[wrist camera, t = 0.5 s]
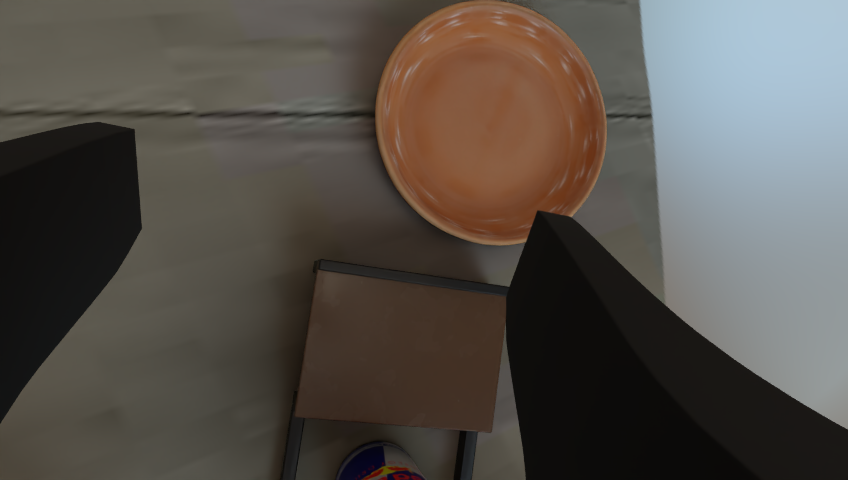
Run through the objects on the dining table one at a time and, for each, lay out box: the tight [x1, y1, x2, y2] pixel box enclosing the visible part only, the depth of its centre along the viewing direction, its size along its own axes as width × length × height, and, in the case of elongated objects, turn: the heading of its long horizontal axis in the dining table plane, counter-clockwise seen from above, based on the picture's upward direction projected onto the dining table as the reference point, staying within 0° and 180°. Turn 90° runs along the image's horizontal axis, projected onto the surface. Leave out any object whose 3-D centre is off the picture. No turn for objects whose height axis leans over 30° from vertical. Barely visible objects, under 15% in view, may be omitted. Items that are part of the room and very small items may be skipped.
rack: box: [280, 259, 509, 480], centre depth 35 cm, size 18×12×5 cm, turn 172°
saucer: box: [375, 0, 607, 245], centre depth 38 cm, size 16×16×3 cm
